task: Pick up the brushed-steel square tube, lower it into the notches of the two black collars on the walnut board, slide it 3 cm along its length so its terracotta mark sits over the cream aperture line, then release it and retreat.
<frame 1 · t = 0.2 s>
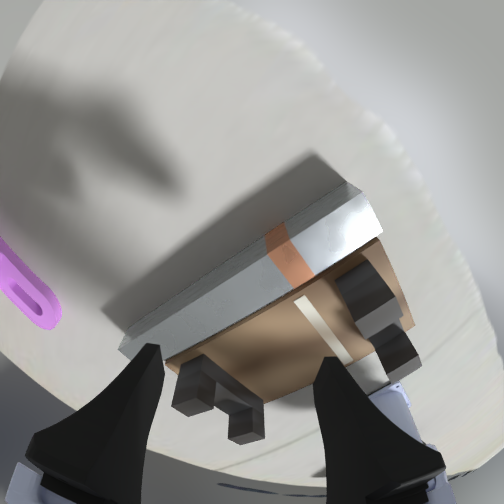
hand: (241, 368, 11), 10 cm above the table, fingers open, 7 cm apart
bracket: (21, 277, 21), on the table
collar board: (292, 348, 24), on the table
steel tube: (230, 281, 21), on the table
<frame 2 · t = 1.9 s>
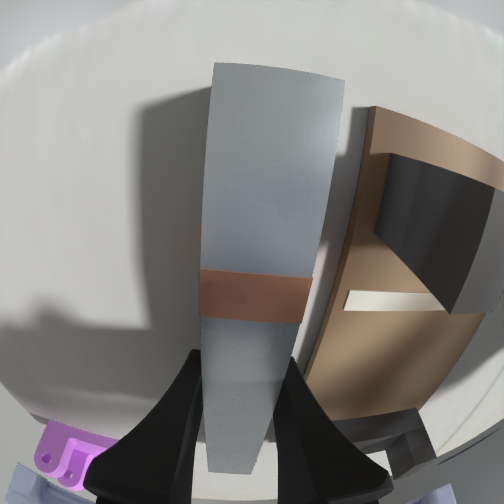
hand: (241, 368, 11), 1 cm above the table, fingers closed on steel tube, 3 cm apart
bracket: (106, 443, 20), on the table
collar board: (403, 346, 13), on the table
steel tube: (241, 347, 13), on the table, touching gripper
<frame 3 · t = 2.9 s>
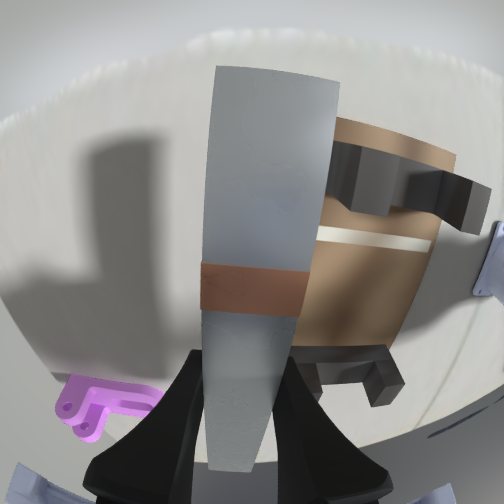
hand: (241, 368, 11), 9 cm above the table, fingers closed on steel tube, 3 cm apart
bracket: (122, 393, 27), on the table
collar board: (361, 278, 20), on the table
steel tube: (241, 343, 13), point 7 cm above the table, touching gripper
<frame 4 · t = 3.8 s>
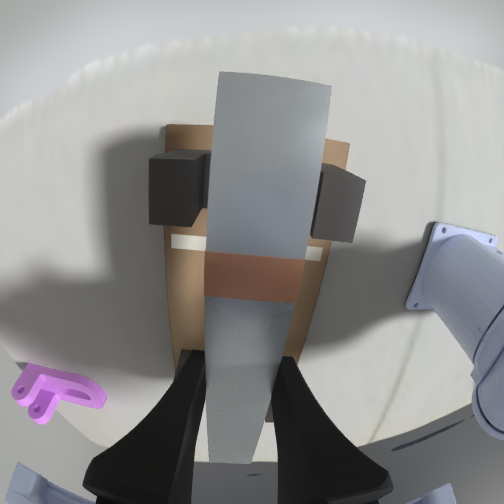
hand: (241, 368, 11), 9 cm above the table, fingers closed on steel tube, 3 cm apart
bracket: (68, 382, 27), on the table
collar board: (242, 287, 20), on the table
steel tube: (241, 333, 13), point 7 cm above the table, touching gripper
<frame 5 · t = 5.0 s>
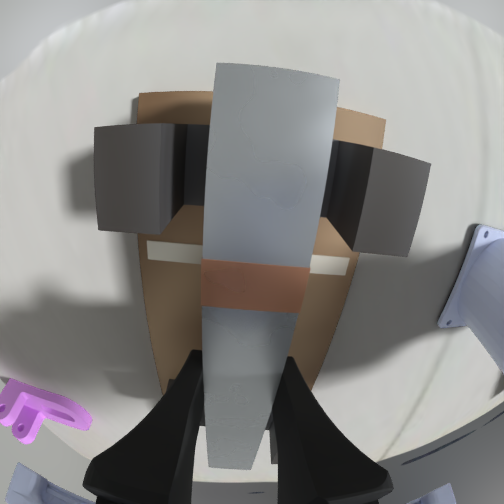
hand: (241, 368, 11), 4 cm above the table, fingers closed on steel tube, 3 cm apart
bracket: (51, 400, 23), on the table
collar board: (242, 309, 15), on the table
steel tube: (241, 340, 13), point 3 cm above the table, touching gripper
when the fingers open (4 cm above the table, at t = 5.6 s): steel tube stays where it is, resting on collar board.
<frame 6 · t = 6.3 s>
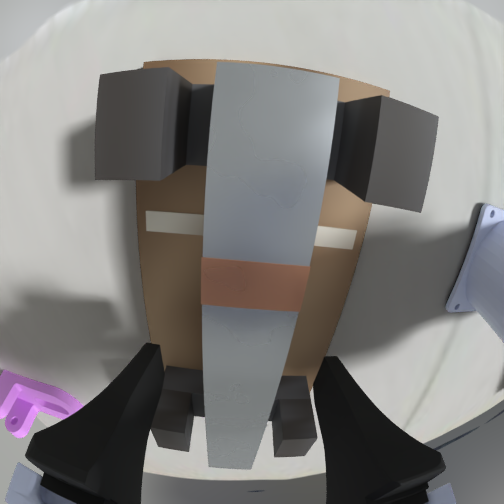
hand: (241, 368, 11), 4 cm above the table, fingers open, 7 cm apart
bracket: (45, 393, 22), on the table
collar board: (245, 286, 15), on the table
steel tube: (242, 339, 13), point 3 cm above the table, touching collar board
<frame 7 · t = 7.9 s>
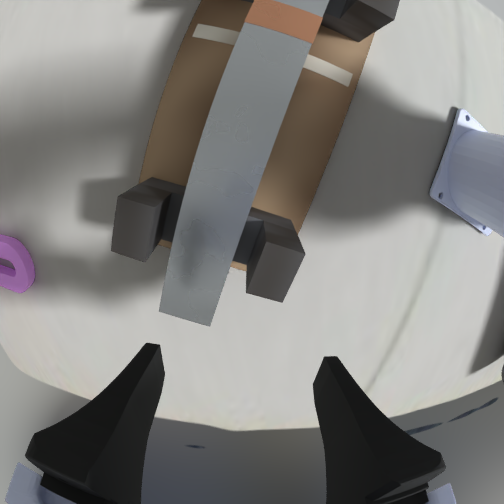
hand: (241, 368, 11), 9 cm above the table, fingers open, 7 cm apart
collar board: (254, 99, 15), on the table
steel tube: (246, 117, 13), point 3 cm above the table, touching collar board
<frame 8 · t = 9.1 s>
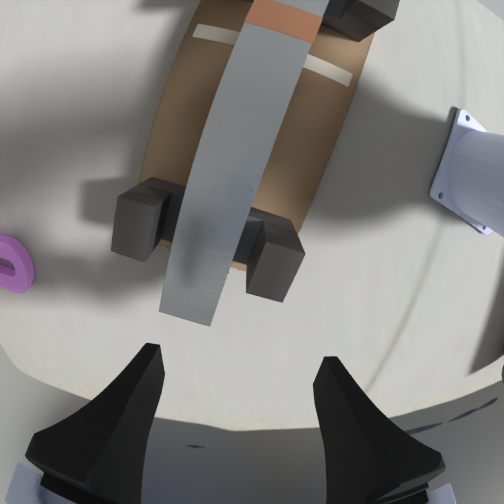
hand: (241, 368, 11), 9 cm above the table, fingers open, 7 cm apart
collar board: (254, 99, 15), on the table
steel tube: (246, 117, 13), point 3 cm above the table, touching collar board
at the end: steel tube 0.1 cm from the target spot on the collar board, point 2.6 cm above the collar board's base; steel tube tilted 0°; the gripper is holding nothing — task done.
